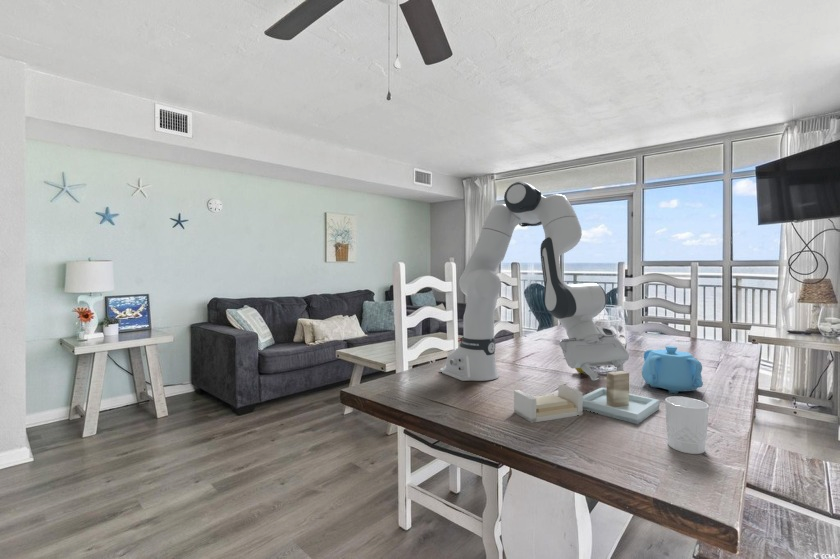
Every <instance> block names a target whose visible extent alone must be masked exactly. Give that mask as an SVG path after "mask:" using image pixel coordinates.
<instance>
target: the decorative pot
mask: <svg viewBox="0 0 840 559" xmlns="http://www.w3.org/2000/svg"><path fill="white" fill-rule="evenodd" d="M643 360H644V363H643V365H642V371H641V376H642V379H643V380H644V381H645V383H646V384H648V385H650V387H651V388H656V389H657V388H659V389H663V390H668V393H671V394H679V392H692V391H695V390H697V389H698V388H702V387H703V385H704V383H703V377H702V371H703V365H702V363H701V362H700V360H699V359H697V358H695V357H694V355H693V354H692V353H690V352H687V351H679V350H678V347H676V346H672V345H666V346H665V349H655V350H654V349H648V350H647V349H646V350H645V351H644V353H643Z"/></svg>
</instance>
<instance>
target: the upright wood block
mask: <svg viewBox="0 0 840 559" xmlns="http://www.w3.org/2000/svg"><path fill="white" fill-rule="evenodd" d="M606 389H607V403H606V405H608V406H612V407H621V406H627V405H629V394H630V372H626V371H625V370H624V371H617V370H616V371H611V372H610V371H609V372H606Z"/></svg>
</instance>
